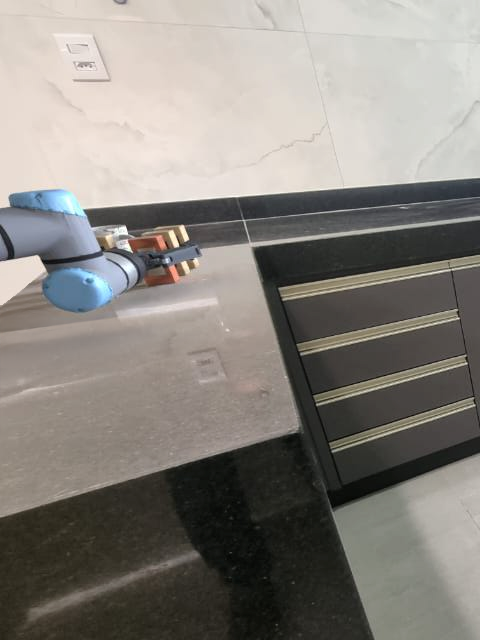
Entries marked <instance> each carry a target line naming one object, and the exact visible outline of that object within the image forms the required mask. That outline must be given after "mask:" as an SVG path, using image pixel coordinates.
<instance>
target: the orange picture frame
mask: <svg viewBox="0 0 480 640" xmlns="http://www.w3.org/2000/svg"><path fill="white" fill-rule="evenodd" d="M127 241H128V243H129V245H130V248H131V250H132V252H133V253H140V252H145V251H154V252H157V251H162V250H166V249H167V247H166V245H165V242H164V240H163V238H162V235H156V236H146V237H142V236H138V237H135V238H131V239H129V240H127ZM144 256H147V257H149V256H148V255H144ZM179 279H180V280H181V278H180V276H179V275H178V273H177V271H176V268H175V266H174V265H172V266H170V267H168V268H163V267H162V265H161V266H160V267H159V268H155V269H151V270H148V271H147V272H146V276H145V278H144V280H145V283H146V285H147V286H148V287H150V286H159V285H167V283H168V284H173V283H172V282H175V283H177V282H179V281H180V280H179ZM176 281H177V282H176Z"/></svg>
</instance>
